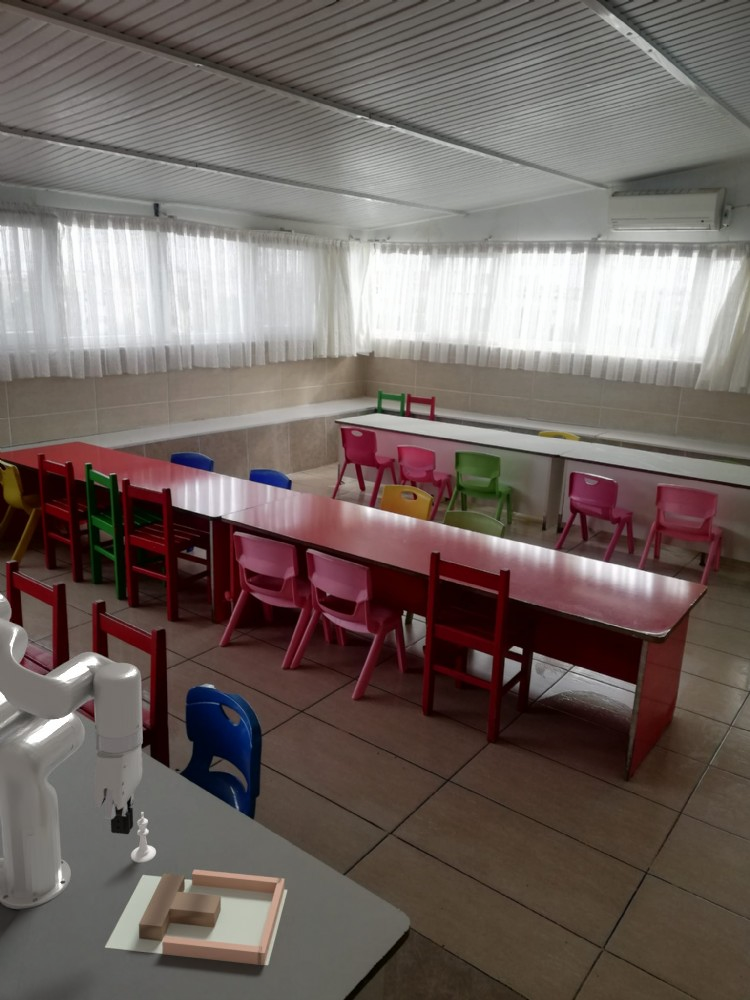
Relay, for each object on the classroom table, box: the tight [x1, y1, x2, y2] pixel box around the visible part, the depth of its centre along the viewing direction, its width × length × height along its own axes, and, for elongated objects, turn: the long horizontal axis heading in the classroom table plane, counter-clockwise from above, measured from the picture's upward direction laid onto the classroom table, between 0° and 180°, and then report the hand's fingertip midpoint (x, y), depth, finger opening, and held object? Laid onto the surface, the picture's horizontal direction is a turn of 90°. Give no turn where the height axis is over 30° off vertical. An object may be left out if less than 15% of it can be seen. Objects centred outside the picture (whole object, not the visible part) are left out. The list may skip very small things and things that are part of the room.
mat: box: [104, 874, 288, 967], centre depth 133 cm, size 28×17×1 cm, turn 86°
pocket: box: [162, 869, 286, 966], centre depth 133 cm, size 17×17×2 cm
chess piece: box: [130, 811, 157, 864], centre depth 147 cm, size 5×5×10 cm
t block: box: [139, 873, 221, 941], centre depth 133 cm, size 12×12×3 cm
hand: (122, 829), depth 130 cm, fingers closed
